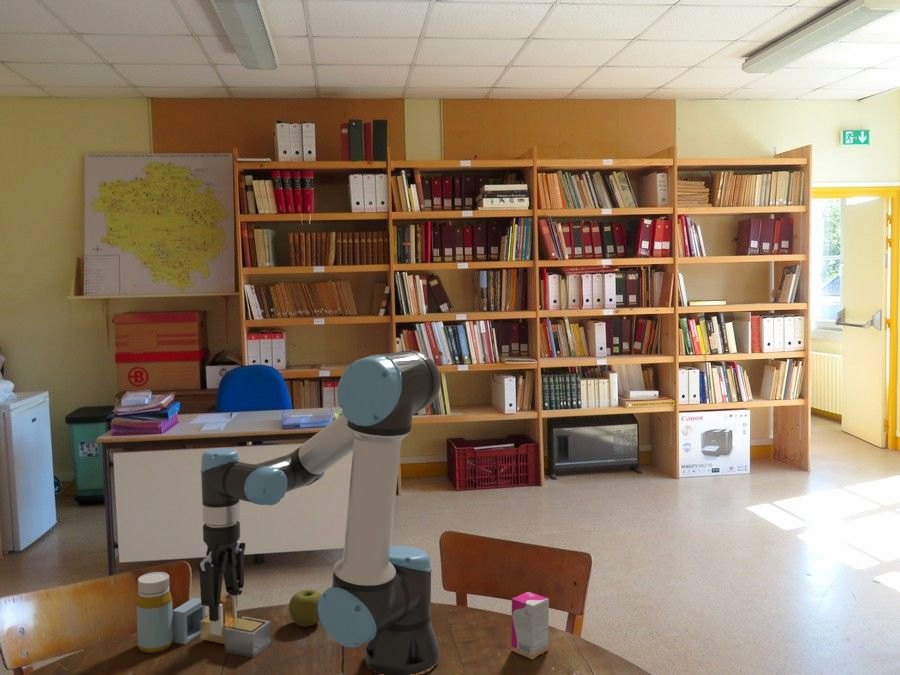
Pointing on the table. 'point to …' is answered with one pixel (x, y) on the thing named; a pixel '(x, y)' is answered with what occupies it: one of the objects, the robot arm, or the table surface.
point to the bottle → (154, 613)
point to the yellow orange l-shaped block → (227, 622)
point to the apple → (305, 607)
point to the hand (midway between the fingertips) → (224, 628)
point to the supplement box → (530, 623)
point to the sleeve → (248, 639)
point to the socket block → (188, 621)
